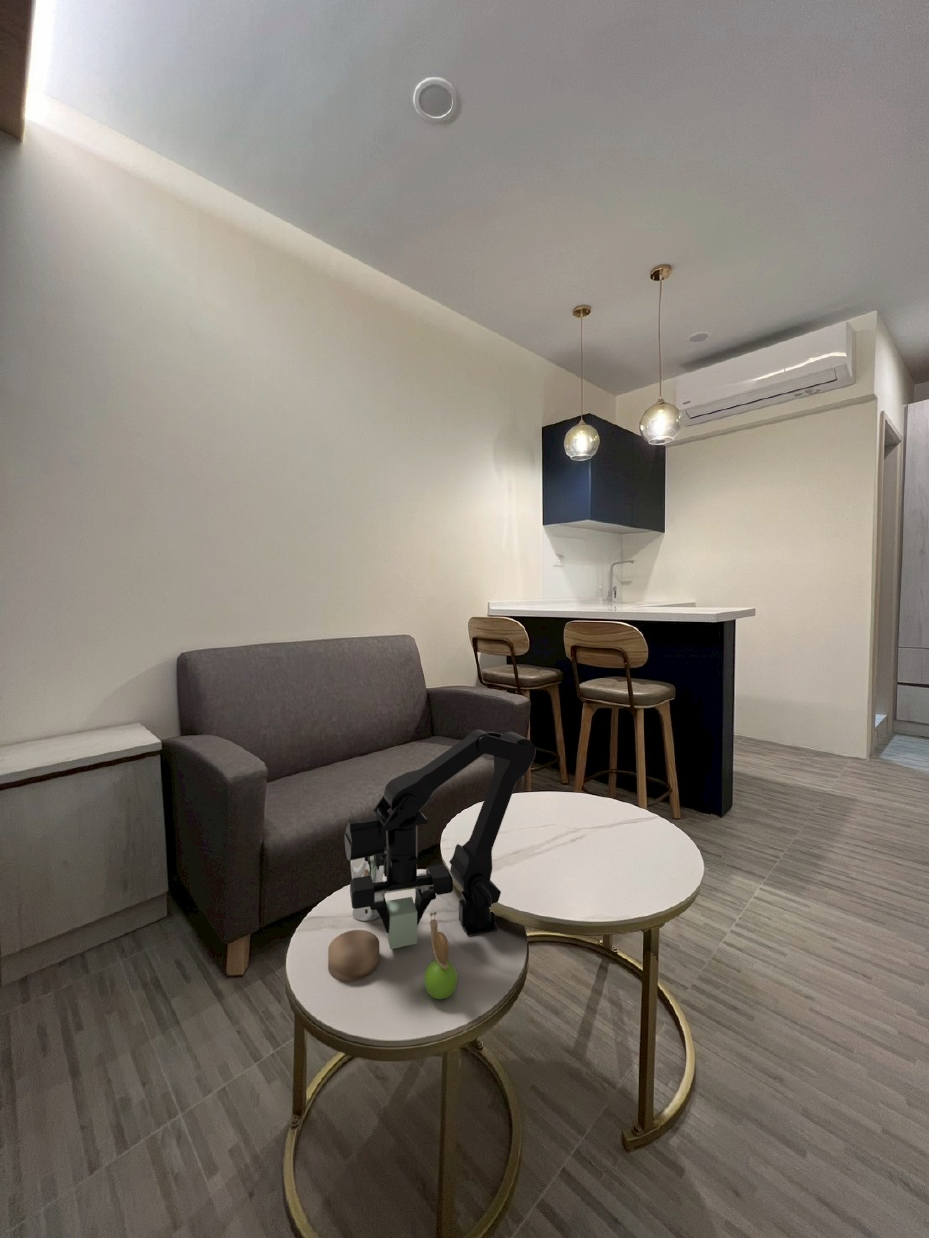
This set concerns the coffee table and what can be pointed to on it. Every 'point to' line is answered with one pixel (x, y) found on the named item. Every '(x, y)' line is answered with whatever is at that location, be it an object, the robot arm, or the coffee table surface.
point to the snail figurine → (440, 966)
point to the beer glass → (366, 869)
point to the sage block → (402, 922)
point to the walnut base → (353, 955)
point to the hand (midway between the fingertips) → (401, 929)
